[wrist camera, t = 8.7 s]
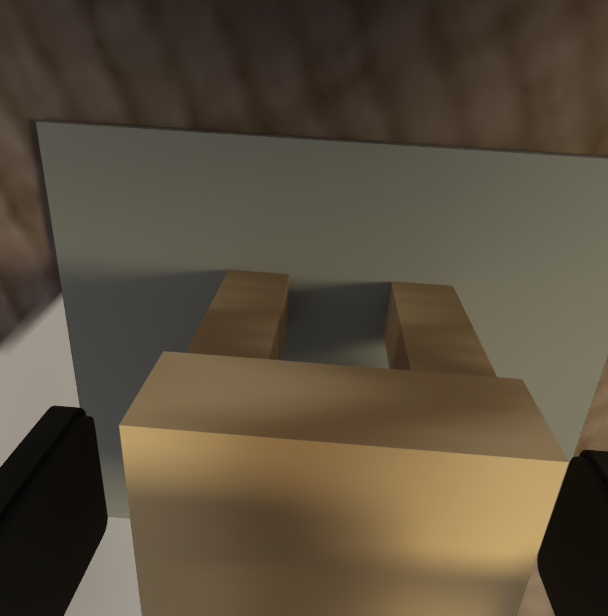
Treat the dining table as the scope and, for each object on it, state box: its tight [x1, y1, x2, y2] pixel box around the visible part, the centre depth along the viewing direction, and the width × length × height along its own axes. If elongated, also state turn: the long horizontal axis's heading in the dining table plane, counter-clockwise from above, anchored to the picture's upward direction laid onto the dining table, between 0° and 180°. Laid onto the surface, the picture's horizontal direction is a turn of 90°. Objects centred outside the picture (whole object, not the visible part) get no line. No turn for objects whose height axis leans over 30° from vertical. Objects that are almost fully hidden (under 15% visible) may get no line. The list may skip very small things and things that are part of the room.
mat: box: [36, 120, 608, 555], centre depth 14 cm, size 14×12×1 cm
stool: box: [119, 270, 569, 616], centre depth 11 cm, size 6×6×6 cm
